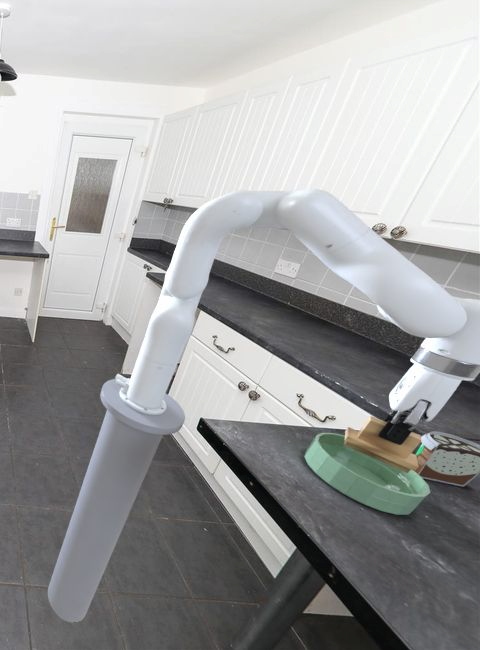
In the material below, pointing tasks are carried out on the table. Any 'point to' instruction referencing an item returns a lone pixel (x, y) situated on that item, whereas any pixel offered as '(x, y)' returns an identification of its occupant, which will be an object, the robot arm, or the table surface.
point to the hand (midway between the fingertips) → (389, 436)
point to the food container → (448, 459)
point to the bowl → (365, 476)
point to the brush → (383, 445)
